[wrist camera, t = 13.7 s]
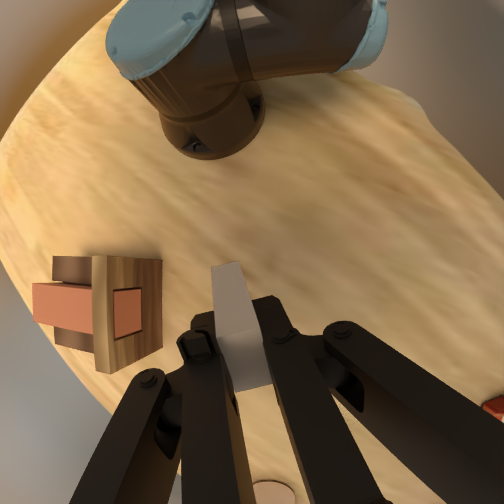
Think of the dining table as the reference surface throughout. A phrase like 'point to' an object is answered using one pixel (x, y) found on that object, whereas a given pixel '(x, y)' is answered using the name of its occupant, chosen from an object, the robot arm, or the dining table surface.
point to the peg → (84, 307)
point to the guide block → (103, 282)
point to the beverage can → (273, 493)
